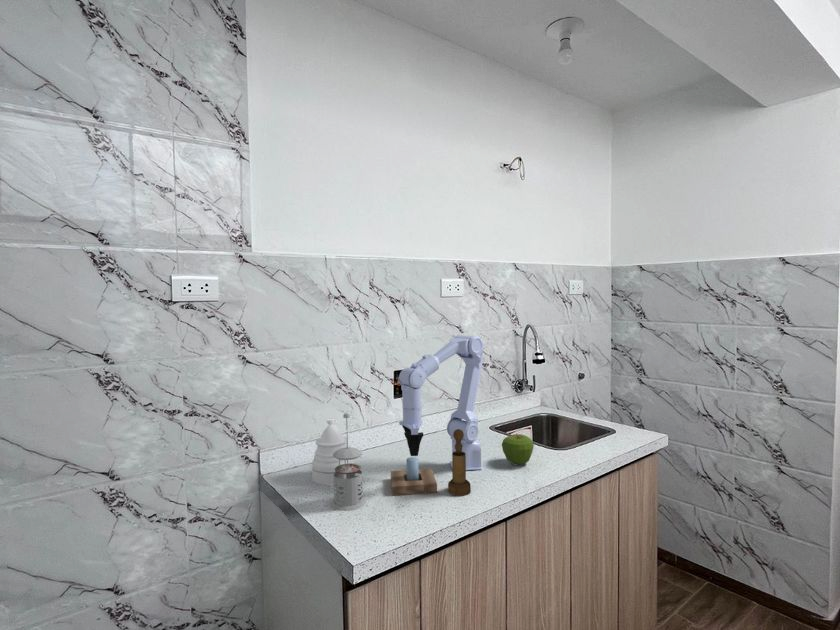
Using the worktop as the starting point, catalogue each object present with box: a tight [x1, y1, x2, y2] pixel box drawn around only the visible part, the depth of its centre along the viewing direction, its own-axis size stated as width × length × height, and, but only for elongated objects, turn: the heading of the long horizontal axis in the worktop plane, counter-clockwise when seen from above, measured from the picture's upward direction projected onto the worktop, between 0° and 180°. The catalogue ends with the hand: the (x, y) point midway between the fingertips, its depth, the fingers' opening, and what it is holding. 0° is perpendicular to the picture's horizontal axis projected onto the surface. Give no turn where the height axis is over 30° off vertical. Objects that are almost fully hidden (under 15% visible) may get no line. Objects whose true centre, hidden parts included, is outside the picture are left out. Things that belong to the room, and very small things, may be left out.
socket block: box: [390, 468, 438, 496], centre depth 131 cm, size 13×12×2 cm
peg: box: [405, 456, 419, 481], centre depth 131 cm, size 4×4×8 cm
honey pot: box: [311, 418, 354, 486], centre depth 139 cm, size 13×13×18 cm
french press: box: [330, 412, 367, 512], centre depth 121 cm, size 10×12×25 cm
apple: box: [501, 434, 535, 466], centre depth 147 cm, size 11×10×10 cm
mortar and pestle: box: [447, 429, 472, 497], centre depth 126 cm, size 7×6×18 cm
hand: (413, 451), depth 132 cm, fingers open, 7 cm apart
